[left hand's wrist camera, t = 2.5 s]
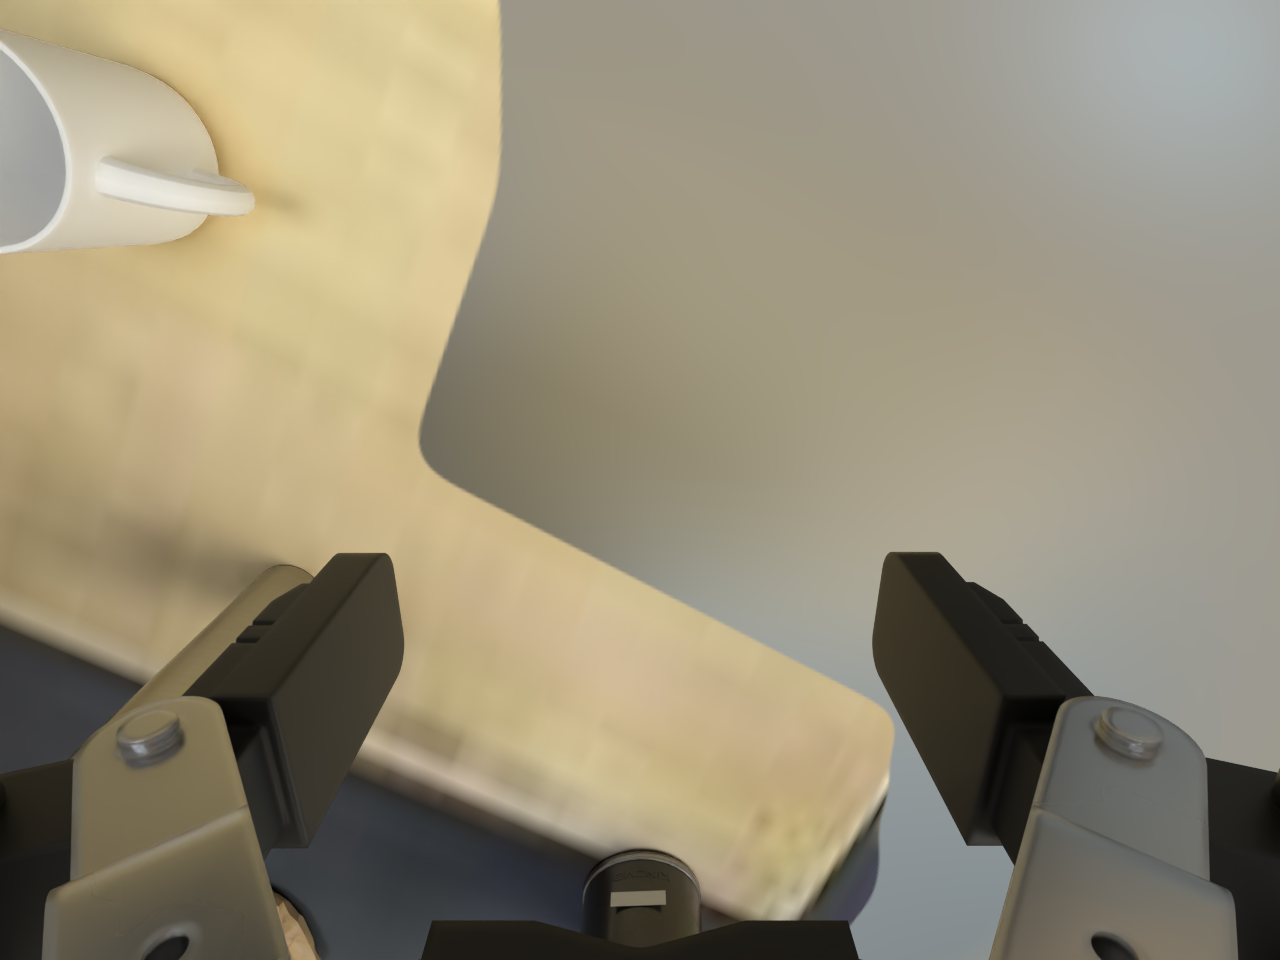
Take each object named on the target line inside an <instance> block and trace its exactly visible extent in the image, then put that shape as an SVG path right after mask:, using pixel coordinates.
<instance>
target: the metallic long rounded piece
mask: <svg viewBox="0 0 1280 960" xmlns="http://www.w3.org/2000/svg"><path fill="white" fill-rule="evenodd" d="M313 579H314V578H313V577H312V576H311V575H310V574H308V573H307V572H305V571H304V570H302V569H299V568H297V567H293V566H287V565H280V566H275V567H272V568H269V569H268V570H266V571H265V572H263V573H262V574H261V575H260V576H259V577H258V578H257V579H256V580H255V581H254V582H253V583H252V584H251V585H250V586H249V587H248V588H247V589H245V590H244V591H243V592H242V593H241V594H240V595H239V596H238V597H237V598H236V599H235V600H234V601H233V602H232V603H231V604H230V605H229V606H228V607H227V608H225V609H224V610H223V611H222V612H221V613H220V614H219V615H218V616H217V617H216V618H215V619H214V620H213V621H212V622H211V623H210V624H209V625H208V626H207V627H206V628H204V629H203V630H202V631H201V632H200V633H199V634H198V635H197V636H196V637H195V638H194V639H193V640H192V641H191V642H190V643H189V644H188V645H187V646H186V647H185V648H183V649H182V650H181V651H180V652H179V653H178V654H177V655H176V656H175V657H174V658H173V659H172V660H171V661H170V662H169V663H168V664H167V665H166V666H165V667H163V668H162V669H161V670H160V671H159V672H158V673H157V674H156V675H155V676H154V677H153V678H152V679H151V680H150V681H149V682H148V683H147V684H146V685H145V686H144V687H142V688H141V689H140V690H139V691H138V692H137V693H136V694H135V695H134V696H133V697H132V698H131V699H130V700H129V701H128V702H127V703H126V704H125V705H124V706H123V707H121V708H120V709H119V710H118V711H117V712H116V713H115V714H114V715H113V716H112V717H111V718H110V719H109V720H108V721H107V722H106V723H105V724H107V723H108V722H110V721H111V720H113V719H115V718H117V717H119V716H120V715H122V714H124V713H126V712H128V711H131V710H133V709H135V708H138V707H140V706H143V705H145V704H148V703H152V702H155V701H158V700H163V699H167V698H172V697H180V696H182V695H183V694H184V693H185V692H186V691H187V690H188V688H189V687H190V686H191V685H192V684H193V683H194V682H195V681H196V680H197V679H198V678H199V677H200V676H201V675H202V674H203V673H204V672H205V671H206V670H207V669H208V667H209V666H210V665H211V664H212V663H213V662H214V661H215V660H216V659H217V658H218V657H219V656H220V655H221V654H222V653H223V652H224V651H225V650H226V649H227V648H228V646H229V645H230V644H231V643H236V638H237V637H238V636H239V635H240V634H241V633H242V632H243V631H244V630H245V629H246V628H247V627H248V625H252V623H253V622H252V621H253V620H254V619H255V618H256V617H257V616H258V615H259V614H260V613H261V612H262V611H263V610H264V609H265V608H266V607H267V606H268V604H269V603H270V602H271V601H273V600H274V599H276V598H278V597H279V596H281V595H283V594H285V593H286V592H288V591H290V590H291V589H293V588H295V587H296V586H298V585H300V584H302V583H310V582H311V581H312V580H313ZM105 724H104V725H105ZM104 725H103V726H104ZM101 727H102V726H101ZM101 727H100V728H101ZM100 728H99V729H100ZM80 747H81V746H80ZM80 747H79V748H78V749H77V750H76V751H75V752H74V753H73V754H72V755H71V756H70V757H69V758H68V759H67V760H70V759H74V758H75V756H76V754H77V752H78V750H79V749H80Z"/></svg>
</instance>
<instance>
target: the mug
mask: <svg viewBox="0 0 1280 960" xmlns="http://www.w3.org/2000/svg"><path fill="white" fill-rule="evenodd" d="M255 204H256V202H255V197H254V195H253V193H252V191H251V190H250V189H249V188H248V187H246V186H245V185H243V184H241V183H239V182H237V181H234V180H232V179H229V178H226V177H224V176H221V175H219V171H218V162H217V157H216V153H215V149H214V146H213V144H212V141H211V138H210V136H209V134H208V132H207V130H206V128H205V126H204V125H203V123H202V121H201V120H200V118H199V117H198V115H197V114H196V113H195V111H194V110H193V109H192V107H191V106H190V105H189V104H188V103H187V102H186V101H185V100H184V99H183V98H182V97H181V96H180V95H179V94H178V93H177V92H176V91H175V90H173V89H172V88H171V87H169V86H168V85H166V84H165V83H164V82H162V81H160V80H158V79H157V78H155V77H153V76H151V75H150V74H148V73H145V72H143V71H140V70H138V69H136V68H133V67H131V66H128V65H125V64H121V63H118V62H114V61H111V60H108V59H104V58H101V57H97V56H94V55H90V54H87V53H83V52H80V51H77V50H73V49H70V48H66V47H63V46H59V45H56V44H52V43H49V42H46V41H42V40H39V39H35V38H32V37H28V36H25V35H21V34H18V33H15V32H11V31H8V30H4V29H1V28H0V254H9V253H25V252H41V251H57V250H73V249H89V248H105V247H121V246H137V245H152V244H159V243H165V242H170V241H173V240H176V239H179V238H182V237H184V236H186V235H188V234H190V233H191V232H193V231H194V230H195V229H197V228H198V227H199V226H200V225H201V224H202V223H203V222H204V221H205V219H206V218H207V216H208V215H216V216H242V215H246V214H249V213H250V212H251V211H252V210H253V209H254V207H255Z"/></svg>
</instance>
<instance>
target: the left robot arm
mask: <svg viewBox="0 0 1280 960" xmlns="http://www.w3.org/2000/svg"><path fill="white" fill-rule="evenodd" d="M252 622H253V623H252V625H248V627H247V628H246V629H245V630H244V631H243V632H242V633H241V634H240V635H239V636H238V637H237V638H236V643H231V644H230V645H229V646H228V648H227V649H226V650H225V651H224V652H223V653H222V654H221V655H220V656H219V657H218V658H217V659H216V660H215V661H214V662H213V663H212V664H211V665H210V666H209V667H208V669H207V670H206V671H205V672H204V673H203V674H202V675H201V676H200V677H199V678H198V679H197V680H196V681H195V682H194V683H193V684H192V685H191V686H190V687H189V688H188V690H187V691H186V692H185V693H184V694H183V695H182V696H180V697H172V698H167V699H163V700H158V701H155V702H152V703H148V704H145V705H143V706H140V707H138V708H135V709H133V710H131V711H128V712H126V713H124V714H122V715H120V716H119V717H117V718H115V719H113V720H111V721H110V722H108V723H107V724H105V725H104V726H102V727H101V728H100V729H98V730H97V731H96V732H95V733H93V734H92V735H91V736H90V737H89V738H88V739H87V740H86V741H85V742H84V743H83V745H82V746H81V747H80V749H79V750H78V752H77V754H76V756H75V758H74V759H70V760H65V761H60V762H56V763H51V764H46V765H42V766H37V767H32V768H27V769H23V770H18V771H13V772H9V773H4V774H0V960H291V957H290V954H289V950H288V946H287V943H286V939H285V935H284V932H283V928H282V924H281V921H280V917H279V914H278V910H277V906H276V903H275V899H274V895H273V892H272V888H271V885H270V881H269V877H268V874H267V870H266V866H265V863H264V860H265V858H266V857H267V855H268V853H269V851H270V850H271V848H308V846H309V845H310V843H311V841H312V839H313V837H314V835H315V833H316V831H317V829H318V827H319V825H320V824H321V822H322V820H323V818H324V816H325V814H326V812H327V810H328V808H329V806H330V804H331V803H332V801H333V799H334V797H335V795H336V793H337V791H338V789H339V787H340V785H341V784H342V782H343V780H344V778H345V776H346V774H347V772H348V770H349V768H350V766H351V764H352V763H353V761H354V759H355V757H356V755H357V753H358V751H359V749H360V747H361V745H362V743H363V742H364V740H365V738H366V736H367V734H368V732H369V730H370V728H371V726H372V724H373V723H374V721H375V719H376V717H377V715H378V713H379V711H380V709H381V707H382V705H383V703H384V702H385V700H386V698H387V696H388V694H389V692H390V690H391V688H392V686H393V684H394V682H395V681H396V679H397V677H398V674H399V672H400V669H401V665H402V661H403V654H404V635H403V628H402V621H401V614H400V608H399V601H398V594H397V588H396V581H395V574H394V568H393V564H392V561H391V558H390V557H389V555H388V554H386V553H338V554H336V555H335V556H334V557H333V558H332V559H331V560H330V561H329V562H328V563H327V564H326V565H325V567H324V568H323V569H322V570H321V571H320V572H319V573H318V574H317V575H316V577H315V578H314V579H313V580H312V581H311V582H310V583H302V584H300V585H298V586H296V587H295V588H293V589H291V590H290V591H288V592H286V593H285V594H283V595H281V596H279V597H278V598H276V599H274V600H273V601H271V602H270V603H269V604H268V606H267V607H266V608H265V609H264V610H263V611H262V612H261V613H260V614H259V615H258V616H257V617H256V618H255V619H254V620H253V621H252ZM872 647H873V657H874V662H875V666H876V670H877V672H878V675H879V677H880V678H881V681H882V682H883V684H884V686H885V688H886V690H887V692H888V694H889V696H890V698H891V700H892V702H893V704H894V706H895V708H896V709H897V711H898V713H899V715H900V717H901V719H902V721H903V723H904V725H905V727H906V729H907V731H908V733H909V735H910V736H911V738H912V740H913V742H914V744H915V746H916V748H917V750H918V752H919V754H920V756H921V758H922V760H923V762H924V763H925V765H926V767H927V769H928V771H929V773H930V775H931V777H932V779H933V781H934V783H935V785H936V787H937V789H938V790H939V792H940V794H941V796H942V798H943V800H944V802H945V804H946V806H947V808H948V810H949V812H950V814H951V816H952V818H953V819H954V821H955V823H956V825H957V827H958V829H959V831H960V833H961V835H962V837H963V839H964V841H965V843H966V845H967V846H1003V847H1004V848H1005V850H1006V852H1007V854H1008V855H1009V857H1010V859H1011V861H1012V862H1013V864H1014V870H1013V874H1012V877H1011V881H1010V884H1009V888H1008V892H1007V895H1006V899H1005V903H1004V906H1003V910H1002V914H1001V917H1000V921H999V925H998V928H997V932H996V935H995V939H994V943H993V946H992V950H991V954H990V957H989V960H1280V769H1279V771H1278V773H1276V772H1272V771H1267V770H1262V769H1258V768H1253V767H1248V766H1243V765H1239V764H1234V763H1229V762H1225V761H1219V760H1215V759H1210V758H1206V757H1205V756H1204V754H1203V752H1202V750H1201V749H1200V747H1199V746H1198V745H1197V743H1196V742H1195V741H1194V740H1193V739H1192V738H1191V737H1190V736H1189V735H1188V734H1187V733H1185V732H1184V731H1183V730H1182V729H1180V728H1179V727H1178V726H1176V725H1175V724H1173V723H1171V722H1170V721H1169V720H1167V719H1165V718H1163V717H1161V716H1160V715H1158V714H1156V713H1154V712H1152V711H1149V710H1147V709H1145V708H1142V707H1140V706H1137V705H1135V704H1132V703H1128V702H1125V701H1122V700H1117V699H1113V698H1108V697H1100V696H1094V695H1093V694H1092V693H1091V692H1090V691H1089V690H1088V689H1087V687H1086V686H1085V685H1084V684H1083V683H1082V682H1081V681H1080V680H1079V679H1078V678H1077V677H1076V676H1075V675H1074V674H1073V673H1072V672H1071V671H1070V670H1069V668H1068V667H1067V666H1066V665H1065V664H1064V663H1063V662H1062V661H1061V660H1060V659H1059V658H1058V657H1057V656H1056V655H1055V654H1054V653H1053V651H1052V650H1051V649H1050V648H1049V647H1048V646H1047V645H1046V644H1045V643H1044V642H1043V641H1039V637H1038V636H1037V635H1036V634H1035V632H1034V631H1033V630H1032V629H1031V628H1030V627H1029V626H1028V625H1027V624H1023V620H1022V619H1021V618H1020V617H1019V615H1018V614H1017V613H1016V612H1015V611H1014V610H1013V609H1012V608H1011V607H1010V606H1009V605H1008V604H1007V603H1006V602H1005V601H1004V600H1003V599H1002V598H1000V597H998V596H997V595H995V594H993V593H992V592H990V591H988V590H986V589H985V588H983V587H981V586H980V585H978V584H976V583H974V582H966V581H965V580H964V579H963V578H962V577H961V576H960V575H959V574H958V572H957V571H956V570H955V569H954V568H953V567H952V566H951V565H950V563H949V562H948V561H947V560H946V559H945V558H944V557H943V556H942V555H941V554H940V553H938V552H890V553H889V554H887V556H886V558H885V560H884V563H883V568H882V575H881V582H880V589H879V595H878V602H877V609H876V616H875V622H874V629H873V639H872ZM700 903H701V896H700V887H699V883H698V881H697V878H696V877H695V875H694V874H693V872H692V871H691V870H690V869H689V868H688V867H687V866H686V865H684V864H683V863H682V862H680V861H678V860H677V859H675V858H672V857H670V856H667V855H664V854H660V853H655V852H647V851H636V852H628V853H623V854H619V855H616V856H613V857H611V858H609V859H607V860H605V861H603V862H602V863H600V864H599V865H598V866H597V867H595V868H594V869H593V870H592V872H591V873H590V874H589V876H588V877H587V879H586V881H585V884H584V889H583V916H582V928H581V933H578V932H575V931H571V930H567V929H564V928H560V927H556V926H552V925H549V924H545V923H541V922H538V921H432V924H431V927H430V930H429V934H428V937H427V941H426V944H425V947H424V951H423V954H422V958H421V959H419V960H861V959H859V958H858V954H857V951H856V947H855V944H854V941H853V937H852V934H851V931H850V927H849V924H848V921H742V922H739V923H735V924H731V925H728V926H724V927H720V928H716V929H713V930H709V931H705V932H702V922H701V910H700Z"/></svg>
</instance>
